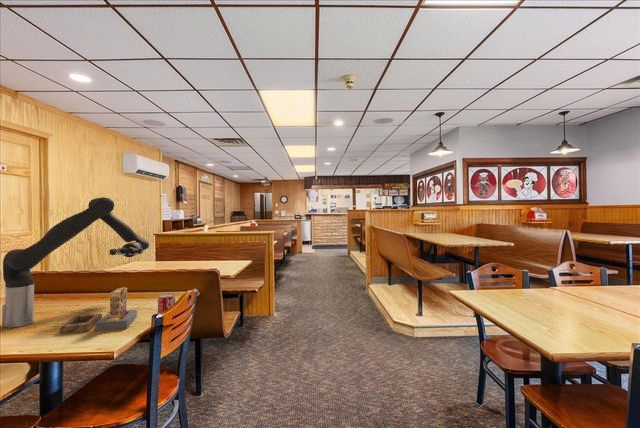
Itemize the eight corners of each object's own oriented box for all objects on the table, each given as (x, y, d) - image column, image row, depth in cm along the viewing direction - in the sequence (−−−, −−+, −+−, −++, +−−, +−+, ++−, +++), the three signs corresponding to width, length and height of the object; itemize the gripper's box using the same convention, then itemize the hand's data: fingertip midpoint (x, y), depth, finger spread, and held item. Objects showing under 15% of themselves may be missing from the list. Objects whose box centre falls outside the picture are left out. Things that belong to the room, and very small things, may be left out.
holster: (60, 334, 127) (60, 326, 127) (76, 321, 141) (76, 315, 141) (88, 331, 130) (89, 324, 130) (101, 319, 144) (102, 313, 144)
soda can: (168, 327, 135) (168, 297, 135) (153, 326, 136) (154, 296, 136) (178, 322, 142) (179, 293, 142) (165, 320, 143) (165, 292, 143)
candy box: (119, 326, 136) (120, 291, 136) (108, 327, 135) (109, 292, 135) (126, 319, 144) (127, 287, 144) (116, 320, 143) (116, 287, 143)
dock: (95, 331, 130) (96, 321, 130) (109, 318, 145) (109, 309, 145) (127, 328, 133) (127, 318, 133) (136, 316, 149) (137, 307, 149)
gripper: (116, 242, 168) (106, 245, 153) (145, 242, 173) (138, 245, 157) (116, 256, 168) (105, 260, 153) (145, 255, 172) (138, 259, 157)
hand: (122, 252), depth 155 cm, fingers open, 8 cm apart
